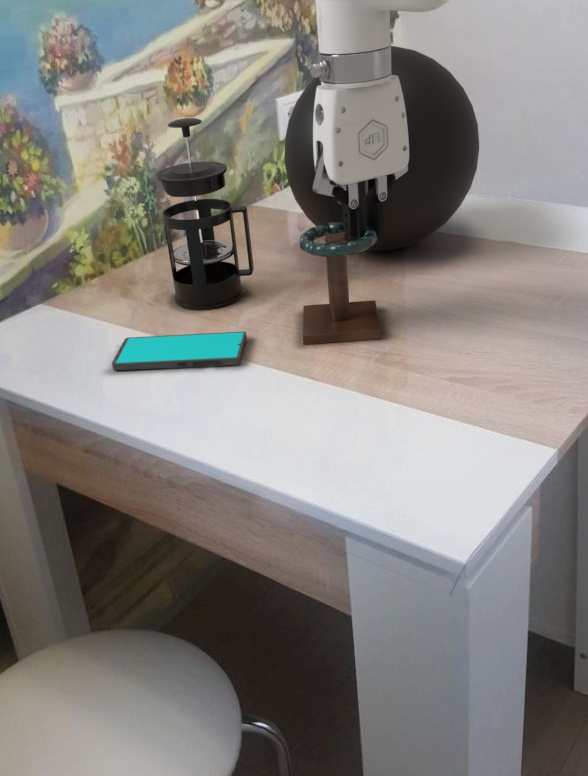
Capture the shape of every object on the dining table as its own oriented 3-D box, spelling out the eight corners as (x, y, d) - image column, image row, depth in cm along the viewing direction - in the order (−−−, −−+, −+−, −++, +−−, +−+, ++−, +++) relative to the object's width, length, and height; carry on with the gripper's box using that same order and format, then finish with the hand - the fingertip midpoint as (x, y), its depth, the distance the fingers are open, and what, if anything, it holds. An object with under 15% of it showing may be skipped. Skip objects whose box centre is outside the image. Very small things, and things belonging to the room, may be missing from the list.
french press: (163, 311, 116) (132, 131, 104) (177, 285, 124) (150, 115, 112) (251, 307, 115) (229, 124, 103) (259, 281, 122) (241, 107, 110)
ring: (373, 228, 105) (373, 217, 104) (379, 254, 97) (378, 242, 97) (300, 235, 106) (299, 224, 105) (300, 261, 98) (298, 249, 97)
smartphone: (125, 337, 108) (246, 331, 106) (126, 343, 108) (247, 337, 106) (110, 364, 102) (238, 358, 100) (112, 371, 102) (239, 365, 100)
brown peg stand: (375, 309, 110) (372, 221, 104) (380, 339, 103) (376, 246, 97) (304, 314, 111) (296, 227, 105) (303, 344, 103) (295, 253, 98)
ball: (475, 212, 138) (479, 24, 124) (479, 276, 116) (485, 55, 102) (306, 220, 144) (292, 40, 130) (279, 282, 121) (258, 73, 107)
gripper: (308, 84, 87) (322, 261, 97) (438, 58, 93) (438, 228, 102) (273, 77, 93) (289, 245, 103) (397, 52, 99) (401, 214, 108)
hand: (364, 235), depth 103 cm, fingers closed on ring, 1 cm apart
